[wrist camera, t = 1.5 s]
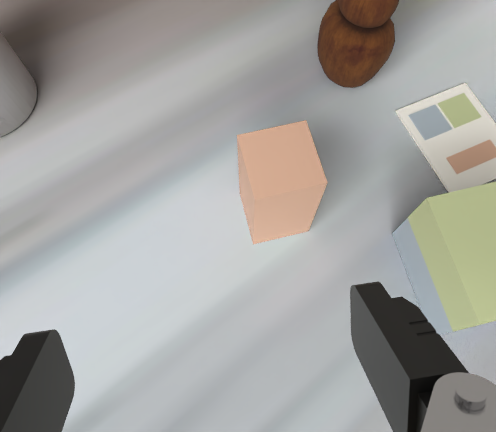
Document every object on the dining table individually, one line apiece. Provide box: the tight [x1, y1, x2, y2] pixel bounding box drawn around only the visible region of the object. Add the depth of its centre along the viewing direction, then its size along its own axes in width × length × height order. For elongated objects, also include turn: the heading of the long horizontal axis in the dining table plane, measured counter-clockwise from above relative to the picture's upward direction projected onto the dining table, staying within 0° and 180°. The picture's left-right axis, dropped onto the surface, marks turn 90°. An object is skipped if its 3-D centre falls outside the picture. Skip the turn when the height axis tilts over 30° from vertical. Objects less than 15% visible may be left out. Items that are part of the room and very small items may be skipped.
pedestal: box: [392, 182, 496, 335], centre depth 34 cm, size 9×9×8 cm
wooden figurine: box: [318, 0, 399, 88], centre depth 38 cm, size 7×6×15 cm
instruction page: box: [395, 83, 496, 193], centre depth 42 cm, size 10×8×1 cm
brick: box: [237, 120, 327, 244], centre depth 35 cm, size 5×5×10 cm
